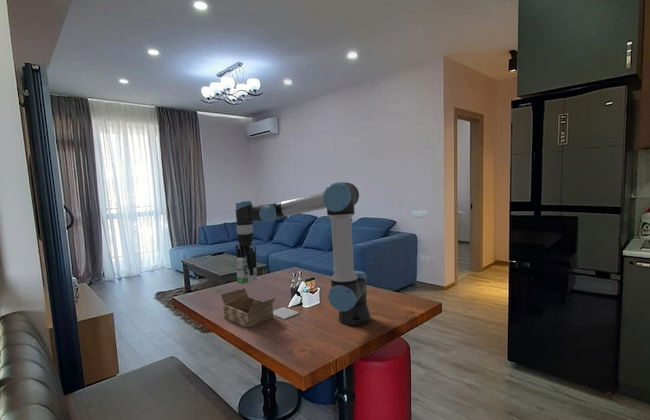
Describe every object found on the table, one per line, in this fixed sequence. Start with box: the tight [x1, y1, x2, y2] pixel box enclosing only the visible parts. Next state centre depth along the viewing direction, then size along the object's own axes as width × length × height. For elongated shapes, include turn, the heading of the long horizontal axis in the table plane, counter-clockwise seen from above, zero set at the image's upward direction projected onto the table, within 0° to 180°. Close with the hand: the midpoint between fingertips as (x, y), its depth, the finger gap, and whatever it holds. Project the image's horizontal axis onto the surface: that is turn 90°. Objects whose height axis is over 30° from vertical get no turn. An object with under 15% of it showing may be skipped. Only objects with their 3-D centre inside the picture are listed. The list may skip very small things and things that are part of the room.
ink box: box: [235, 257, 258, 285], centre depth 164 cm, size 9×5×12 cm, turn 138°
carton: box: [220, 287, 276, 329], centre depth 166 cm, size 25×15×11 cm, turn 49°
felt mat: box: [273, 306, 300, 321], centre depth 170 cm, size 12×10×1 cm
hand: (247, 280), depth 165 cm, fingers closed on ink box, 5 cm apart
